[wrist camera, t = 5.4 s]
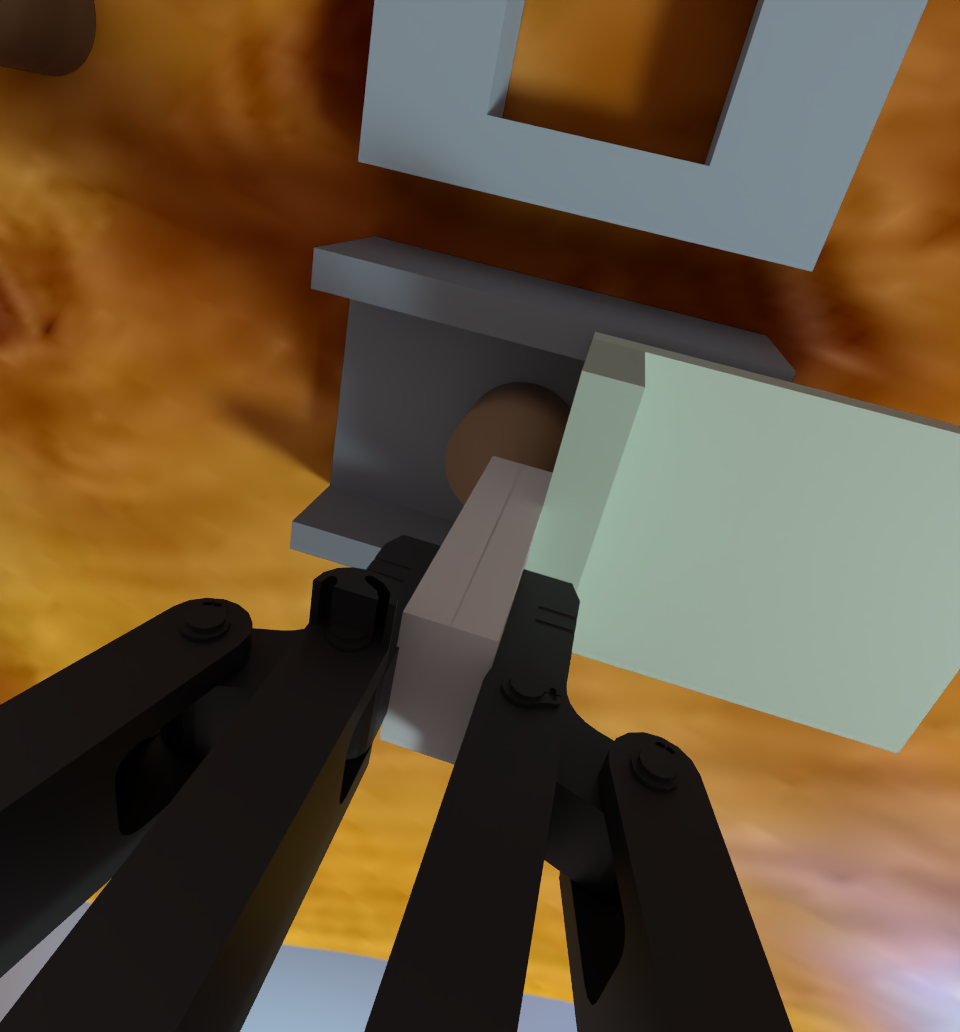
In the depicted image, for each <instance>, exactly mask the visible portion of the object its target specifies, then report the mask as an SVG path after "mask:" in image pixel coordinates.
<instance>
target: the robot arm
mask: <svg viewBox="0 0 960 1032" xmlns="http://www.w3.org/2000/svg"><path fill="white" fill-rule="evenodd" d="M552 474H553V473H552V472H548V471H545V470H541V469H538V468H534V467H531V466H527V465H524V464H520V463H517V462H513V461H510V460H506V459H503V458H499V457H496V456H493V457H492V458H491V460H490V462H489V464H488V465H487V467H486V469H485V471H484V472H483V474H482V476H481V477H480V479H479V481H478V483H477V484H476V486H475V488H474V490H473V491H472V493H471V495H470V497H469V498H468V500H467V502H466V504H465V505H464V507H463V509H462V510H461V512H460V514H459V516H458V517H457V519H456V521H455V523H454V524H453V526H452V528H451V530H450V531H449V533H448V535H447V536H446V538H445V540H444V542H443V543H442V545H441V546H440V545H436V544H433V543H430V542H426V541H423V540H420V539H416V538H413V537H410V536H406V535H402V536H400V537H398V538H396V539H394V540H392V541H390V542H388V543H386V544H384V546H383V547H382V549H381V550H380V551H379V553H378V554H377V555H376V557H375V559H374V560H373V561H372V562H371V563H370V565H369V566H368V567H367V569H361V568H355V567H351V568H336V569H333V570H330V571H326V572H323V573H322V574H321V575H319V576H318V577H317V578H315V579H314V580H313V589H312V599H311V609H310V618H309V624H308V625H307V626H306V628H305V629H301V630H294V631H280V630H267V629H255V628H252V624H253V623H252V621H251V618H250V615H249V613H248V612H247V611H246V610H244V609H243V608H242V607H241V606H240V605H238V604H236V603H233V602H230V601H227V600H224V599H214V598H202V599H195V600H188V601H186V602H183V603H181V604H178V605H176V606H173V607H171V608H170V609H168V610H166V611H164V612H163V613H161V614H159V615H157V616H156V617H154V618H152V619H150V620H149V621H147V622H145V623H143V624H142V625H140V626H138V627H136V628H135V629H133V630H131V631H129V632H128V633H126V634H124V635H122V636H121V637H119V638H117V639H115V640H114V641H112V642H110V643H108V644H106V645H105V646H103V647H101V648H99V649H98V650H96V651H94V652H92V653H91V654H89V655H87V656H85V657H84V658H82V659H80V660H78V661H77V662H75V663H73V664H71V665H70V666H68V667H66V668H64V669H63V670H61V671H59V672H57V673H56V674H54V675H52V676H50V677H49V678H47V679H45V680H43V681H42V682H40V683H38V684H36V685H34V686H33V687H31V688H29V689H27V690H26V691H24V692H22V693H20V694H19V695H17V696H15V697H13V698H12V699H10V700H8V701H6V702H5V703H3V704H1V705H0V978H1V977H2V976H3V975H4V974H5V973H6V972H7V971H9V970H10V969H11V968H12V967H13V966H14V965H15V964H16V963H17V962H19V961H20V960H21V959H22V958H23V957H24V956H25V955H26V954H28V952H30V951H31V950H32V949H33V948H34V947H35V946H36V945H37V944H39V943H40V942H41V941H42V940H43V939H44V938H45V937H46V936H48V935H49V934H50V933H51V932H52V931H53V930H54V929H55V928H56V927H58V925H60V924H61V923H62V922H63V921H64V920H65V919H67V917H69V916H70V915H71V914H72V913H73V912H74V911H75V910H76V909H77V908H79V907H80V906H81V905H82V904H83V903H84V902H85V901H87V900H88V899H89V898H90V897H91V896H92V895H93V894H94V893H96V892H97V891H98V890H99V889H100V888H101V887H102V886H103V885H104V884H106V883H107V882H108V881H109V880H110V879H111V878H112V879H111V880H110V881H109V882H108V884H107V885H106V886H105V888H104V889H103V890H102V892H101V893H100V894H99V895H98V897H97V898H96V899H95V901H94V902H93V903H92V904H91V906H90V907H89V909H88V910H87V911H86V912H85V914H84V915H83V916H82V917H81V919H80V920H79V921H78V923H77V924H76V925H75V927H74V928H73V929H72V930H71V932H70V933H69V934H68V936H67V937H66V938H65V939H64V941H63V942H62V943H61V945H60V946H59V947H58V948H57V950H56V951H55V952H54V954H53V955H52V956H51V958H50V959H49V960H48V961H47V963H46V964H45V965H44V967H43V968H42V969H41V970H40V972H39V973H38V974H37V976H36V977H35V978H34V980H33V981H32V982H31V983H30V985H29V986H28V987H27V989H26V990H25V991H24V993H23V994H22V995H21V997H20V998H19V999H18V1000H17V1002H16V1003H15V1004H14V1006H13V1007H12V1008H11V1009H10V1011H9V1012H8V1013H7V1014H6V1016H5V1017H4V1018H3V1020H2V1021H1V1022H0V1032H240V1030H241V1028H242V1026H243V1024H244V1022H245V1020H246V1018H247V1016H248V1014H249V1011H250V1009H251V1007H252V1005H253V1003H254V1001H255V999H256V997H257V995H258V993H259V991H260V989H261V987H262V984H263V982H264V980H265V978H266V976H267V974H268V972H269V970H270V968H271V966H272V964H273V962H274V960H275V957H276V955H277V953H278V951H279V949H280V947H281V945H282V943H283V941H284V939H285V937H286V935H287V933H288V930H289V928H290V926H291V924H292V922H293V920H294V918H295V916H296V914H297V912H298V910H299V908H300V905H301V903H302V901H303V899H304V897H305V895H306V893H307V891H308V889H309V887H310V885H311V883H312V881H313V878H314V876H315V874H316V872H317V870H318V868H319V866H320V864H321V862H322V860H323V858H324V856H325V853H326V851H327V849H328V847H329V845H330V843H331V841H332V839H333V837H334V835H335V833H336V831H337V829H338V826H339V824H340V822H341V820H342V818H343V816H344V814H345V812H346V810H347V808H348V806H349V804H350V801H351V799H352V797H353V795H354V793H355V791H356V789H357V787H358V785H359V783H360V781H361V779H362V777H363V774H364V772H365V770H366V768H367V766H368V763H369V758H370V754H371V748H372V743H373V740H374V738H375V736H376V734H377V732H378V730H379V728H380V726H381V724H382V728H381V734H380V740H383V741H386V742H389V743H392V744H395V745H398V746H401V747H404V748H407V749H410V750H413V751H416V752H419V753H422V754H425V755H428V756H431V757H434V758H437V759H440V760H443V761H446V762H449V763H452V764H455V765H454V768H453V771H452V774H451V777H450V780H449V783H448V786H447V789H446V791H445V794H444V797H443V800H442V803H441V806H440V809H439V812H438V815H437V818H436V821H435V824H434V827H433V830H432V833H431V836H430V839H429V842H428V845H427V848H426V851H425V854H424V857H423V860H422V863H421V865H420V868H419V871H418V874H417V877H416V880H415V883H414V886H413V889H412V892H411V895H410V898H409V901H408V904H407V907H406V910H405V913H404V916H403V919H402V922H401V925H400V928H399V931H398V934H397V937H396V939H395V942H394V945H393V948H392V951H391V954H390V957H389V960H388V963H387V966H386V969H385V972H384V975H383V978H382V981H381V984H380V987H379V990H378V993H377V996H376V999H375V1002H374V1005H373V1008H372V1010H371V1014H370V1016H369V1020H368V1022H367V1025H366V1028H365V1032H517V1029H518V1022H519V1015H520V1010H521V1003H522V996H523V990H524V984H525V978H526V971H527V965H528V959H529V952H530V946H531V940H532V933H533V927H534V920H535V914H536V908H537V901H538V895H539V889H540V882H541V876H542V869H543V863H544V860H545V861H547V862H548V863H549V864H551V865H552V866H554V867H555V868H556V869H558V870H559V871H560V876H559V880H560V889H561V897H562V906H563V914H564V923H565V931H566V939H567V948H568V956H569V965H570V973H571V982H572V990H573V999H574V1007H575V1015H576V1024H577V1031H578V1032H793V1030H792V1027H791V1024H790V1022H789V1019H788V1016H787V1013H786V1011H785V1008H784V1005H783V1002H782V1000H781V997H780V994H779V991H778V989H777V986H776V983H775V980H774V977H773V975H772V972H771V969H770V966H769V964H768V961H767V958H766V955H765V953H764V950H763V947H762V944H761V942H760V939H759V936H758V933H757V931H756V928H755V925H754V922H753V919H752V917H751V914H750V911H749V908H748V906H747V903H746V900H745V897H744V895H743V892H742V889H741V886H740V884H739V881H738V878H737V875H736V872H735V870H734V867H733V864H732V861H731V859H730V856H729V853H728V850H727V848H726V845H725V842H724V839H723V837H722V834H721V831H720V828H719V826H718V823H717V820H716V817H715V814H714V812H713V809H712V806H711V803H710V801H709V798H708V795H707V792H706V790H705V787H704V784H703V781H702V779H701V776H700V774H699V772H698V770H697V769H696V767H695V765H694V763H693V762H692V760H691V759H690V758H689V757H688V756H687V755H686V754H685V753H684V752H683V751H682V750H681V749H680V748H678V747H677V746H675V745H674V744H672V743H670V742H668V741H667V740H665V739H663V738H662V737H658V736H655V735H651V734H648V733H645V732H641V733H627V734H625V735H623V736H620V737H618V738H616V740H615V741H613V740H612V739H610V738H608V737H607V736H605V735H603V734H602V733H600V732H598V731H597V730H595V729H594V728H593V727H591V726H590V725H589V724H587V723H586V722H585V721H584V720H583V719H582V718H581V717H580V716H579V715H578V714H577V713H576V712H575V710H574V708H573V707H572V705H571V704H570V702H569V699H568V696H567V678H568V672H569V666H570V660H571V654H572V648H573V642H574V633H575V629H576V623H577V617H578V611H579V605H580V600H579V597H578V595H577V593H576V591H575V589H574V586H573V584H572V583H569V582H565V581H562V580H559V579H555V578H552V577H549V576H546V575H542V574H539V573H536V572H532V571H529V570H526V569H525V568H526V565H527V561H528V558H529V554H530V551H531V547H532V544H533V540H534V537H535V533H536V530H537V526H538V523H539V519H540V516H541V512H542V509H543V505H544V502H545V498H546V495H547V491H548V488H549V484H550V481H551V477H552ZM382 722H383V723H382Z"/></svg>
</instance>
